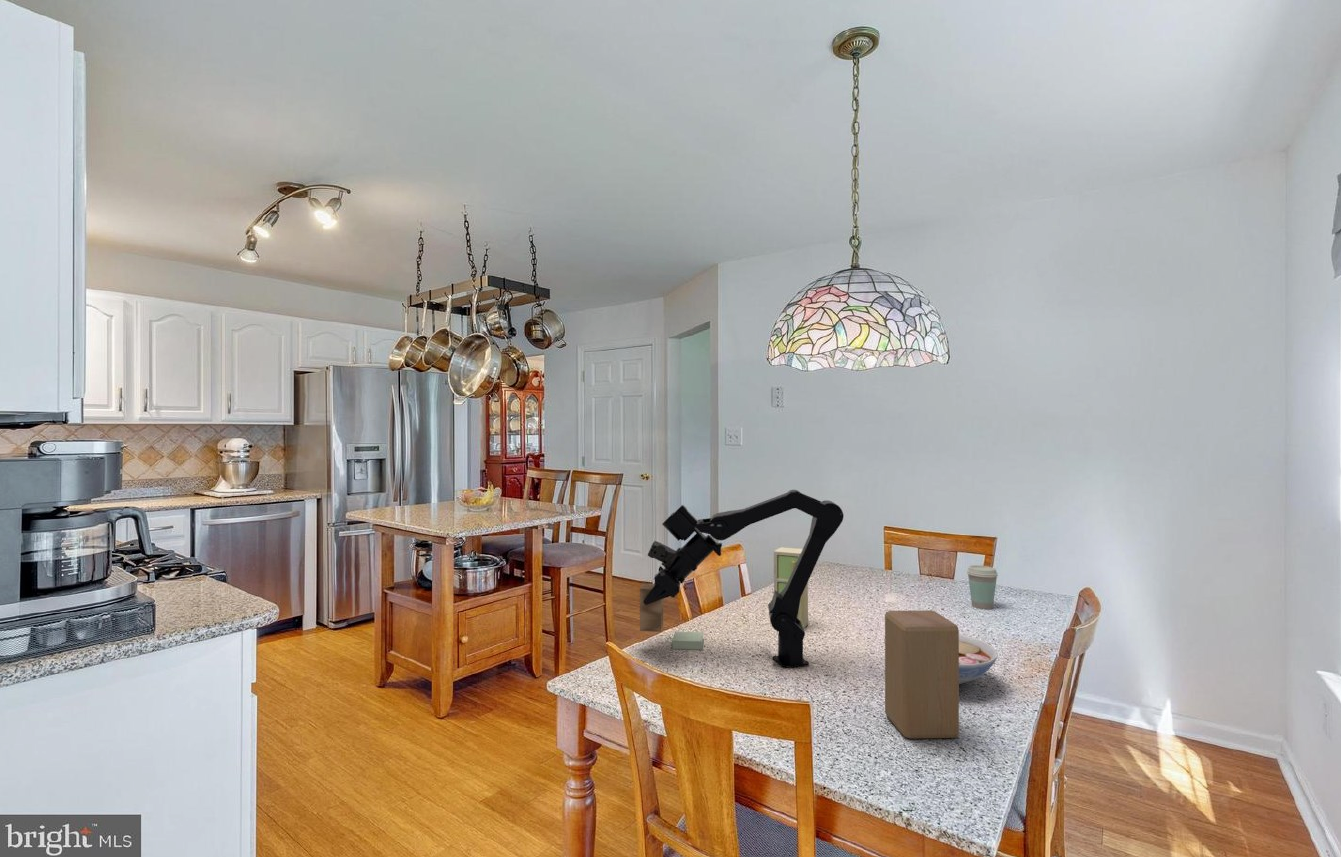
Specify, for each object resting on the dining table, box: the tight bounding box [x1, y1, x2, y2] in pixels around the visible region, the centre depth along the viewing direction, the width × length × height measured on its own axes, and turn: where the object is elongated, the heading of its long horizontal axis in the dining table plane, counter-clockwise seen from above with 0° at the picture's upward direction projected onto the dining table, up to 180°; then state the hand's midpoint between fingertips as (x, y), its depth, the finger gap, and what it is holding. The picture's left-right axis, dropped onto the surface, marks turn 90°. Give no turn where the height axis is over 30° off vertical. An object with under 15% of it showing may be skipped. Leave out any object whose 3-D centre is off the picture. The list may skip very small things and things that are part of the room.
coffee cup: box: [966, 564, 999, 610], centre depth 191 cm, size 8×9×12 cm
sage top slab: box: [672, 630, 704, 651], centre depth 152 cm, size 7×7×2 cm
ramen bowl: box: [883, 633, 999, 685], centre depth 134 cm, size 25×23×8 cm
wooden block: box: [884, 609, 960, 739], centre depth 112 cm, size 10×10×20 cm
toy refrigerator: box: [773, 546, 809, 630], centre depth 171 cm, size 8×7×21 cm
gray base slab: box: [669, 638, 705, 651], centre depth 152 cm, size 8×8×2 cm
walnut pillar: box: [639, 582, 664, 633], centre depth 147 cm, size 5×5×10 cm
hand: (646, 600), depth 147 cm, fingers closed on walnut pillar, 5 cm apart
